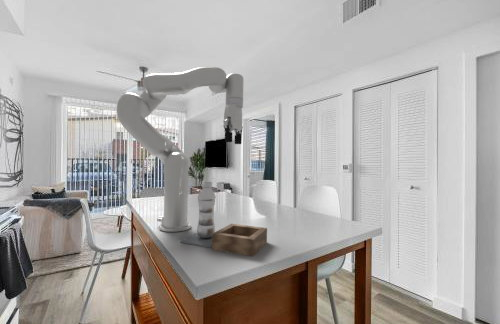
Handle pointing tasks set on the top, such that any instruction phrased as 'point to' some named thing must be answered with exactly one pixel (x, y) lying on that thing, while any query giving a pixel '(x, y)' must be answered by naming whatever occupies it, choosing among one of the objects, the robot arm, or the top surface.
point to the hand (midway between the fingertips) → (233, 143)
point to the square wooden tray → (239, 239)
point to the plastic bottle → (206, 211)
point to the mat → (198, 241)
